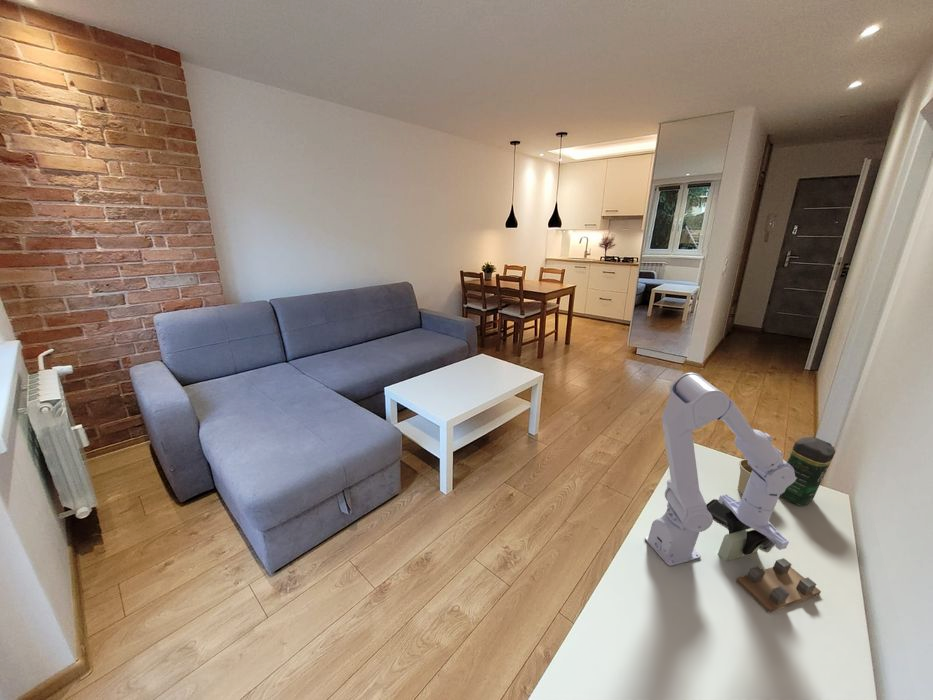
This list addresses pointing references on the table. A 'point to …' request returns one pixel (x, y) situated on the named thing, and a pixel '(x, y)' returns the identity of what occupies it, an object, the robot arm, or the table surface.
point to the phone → (719, 514)
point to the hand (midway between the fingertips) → (739, 546)
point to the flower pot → (744, 475)
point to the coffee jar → (808, 468)
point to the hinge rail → (777, 586)
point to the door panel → (734, 545)
